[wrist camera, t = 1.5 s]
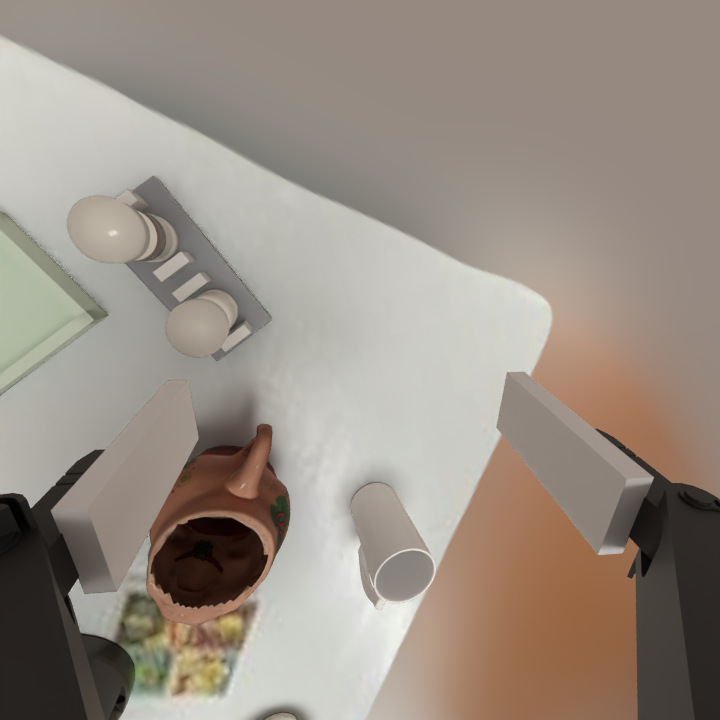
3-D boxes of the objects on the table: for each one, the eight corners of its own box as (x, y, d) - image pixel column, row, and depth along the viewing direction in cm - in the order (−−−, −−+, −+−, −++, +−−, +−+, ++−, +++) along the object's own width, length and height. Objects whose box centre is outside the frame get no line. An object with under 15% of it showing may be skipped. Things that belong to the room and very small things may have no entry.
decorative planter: (202, 374, 38) (169, 433, 25) (311, 403, 42) (330, 468, 29) (153, 532, 42) (102, 655, 29) (258, 546, 46) (254, 661, 33)
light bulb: (154, 270, 34) (104, 275, 23) (120, 233, 32) (51, 220, 22) (189, 245, 34) (155, 238, 23) (156, 206, 32) (105, 181, 22)
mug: (362, 474, 46) (393, 542, 35) (405, 487, 49) (447, 556, 37) (329, 538, 48) (348, 623, 37) (372, 548, 50) (403, 632, 39)
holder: (218, 357, 38) (197, 400, 27) (95, 225, 33) (0, 206, 21) (271, 317, 39) (273, 343, 27) (158, 179, 33) (98, 135, 21)
